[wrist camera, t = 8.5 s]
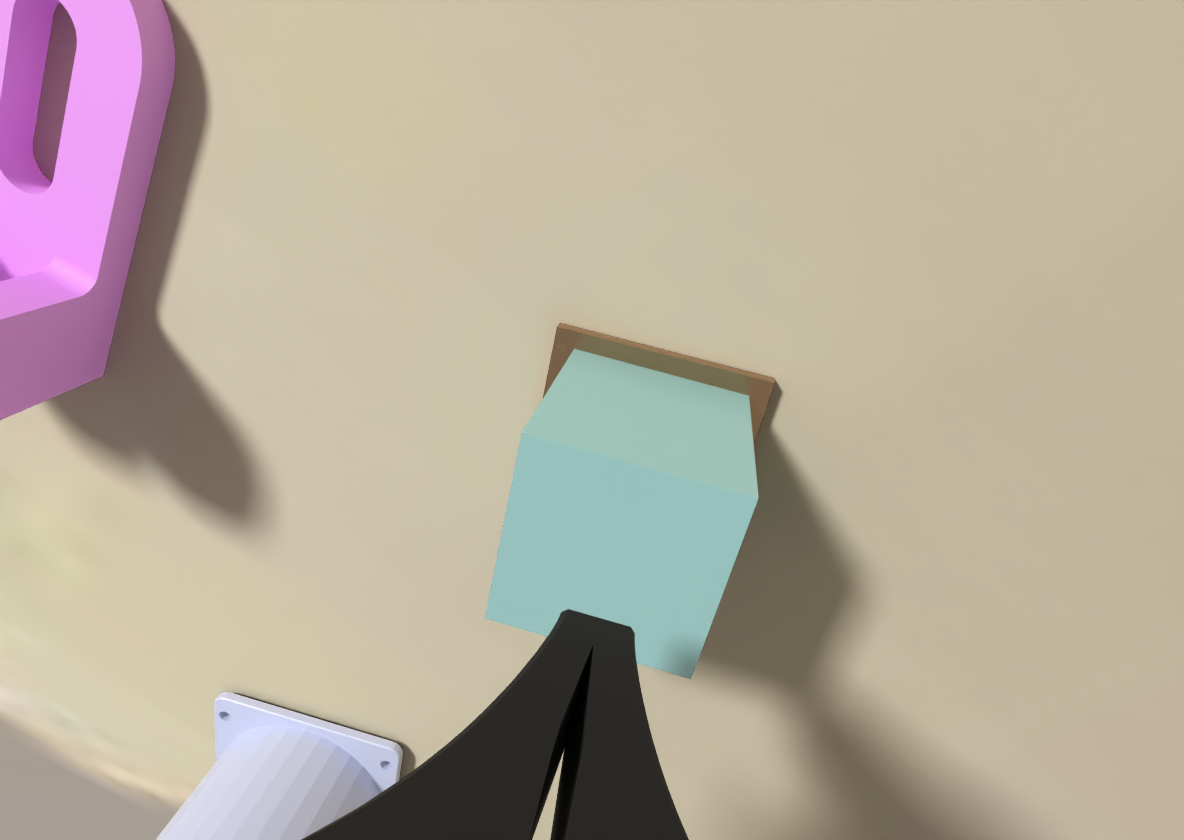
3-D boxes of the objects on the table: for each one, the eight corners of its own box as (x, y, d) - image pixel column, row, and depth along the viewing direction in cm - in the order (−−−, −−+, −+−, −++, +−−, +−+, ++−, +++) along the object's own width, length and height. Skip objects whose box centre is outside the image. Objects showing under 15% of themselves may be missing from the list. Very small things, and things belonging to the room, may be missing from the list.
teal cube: (698, 542, 23) (690, 678, 17) (540, 498, 23) (485, 618, 18) (748, 395, 20) (758, 498, 15) (574, 348, 21) (522, 432, 15)
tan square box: (712, 557, 23) (710, 649, 19) (523, 505, 24) (483, 584, 20) (774, 377, 21) (786, 442, 17) (559, 323, 21) (521, 372, 17)
